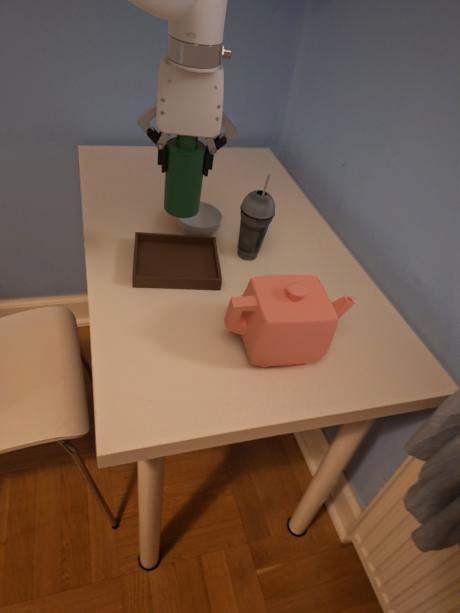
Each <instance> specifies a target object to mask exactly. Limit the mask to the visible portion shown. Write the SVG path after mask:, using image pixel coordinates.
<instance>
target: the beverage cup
mask: <svg viewBox="0 0 460 613" xmlns="http://www.w3.org/2000/svg"><path fill="white" fill-rule="evenodd" d="M270 179H271V174H267V177H266V180H265V184H264V186H263V189H255V190H253V191H250V192H248V194H247V195H246V196H244V198H243V200H242V202H241V204H240V207H239V210H240V223H239V231H238V239H237V241H238V242H237V252H236V253H237V256H238V257H239V258H240V259H242V260H244V261H254V260H256V259H257V257H258V255H259V253H260V250H261V249H262V245H263V243H264V240H265V237H266V235H267V233H268V230H269V227H270V225H271V223H272V221H273V219H274V217H275V215H276V202H275V200H274V198H273V196H272V195H271V194H270V192H268V191H267V188H268V185H269V183H270V182H269V181H270Z"/></svg>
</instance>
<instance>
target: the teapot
mask: <svg viewBox="0 0 460 613" xmlns="http://www.w3.org/2000/svg"><path fill="white" fill-rule="evenodd" d="M355 304H356V301H355V299H354V298H353V296H351V295H350V296H349V295H343V296H342V297H339V298H338V299H336V300H333V301H331V299H330V296H329V295H328V293H327V291H326V289H325V288H324V285H323V283H322V282H321V280H320V278H319V277H318V276H316V275H310V274H309V275H308V274H268V275H258V276H252V277H250V279H249V281H248V283H247V285H246V287H245V288H244V291H243V294H242V296H231V297H230V300H229V302H228V305H227V308H226V312H225V315H224V318H223V322H224V326H225V330H226V331H230V332H231V333H235V334H238V335H240V336H241V338H242V344H243V345H244V346H243V347H244V349H245V352H246V356H247V358H248V361H249V363H250V364H251V365H253V366H258V367H259V368H262V369H264V368H265V369H266V368H268V367H270V366H271V367H272V366H273V367H274V366H292V365H299V366H303V365H306V364H308V363H313V362H318V361H320V360H322V359H323V358H324V357H326V355H327V353H328V351H329V349H330V347H331V345H332V342H333V340H334V337H335V334H336V330H337V328H338V327H337V326H338V322H339V320H340V319H341V318H342V317H343V316H344V315H345V314H346V313H347V312H348V311H349V310H350V309H351V308H352V307H353V306H354V305H355Z"/></svg>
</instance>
